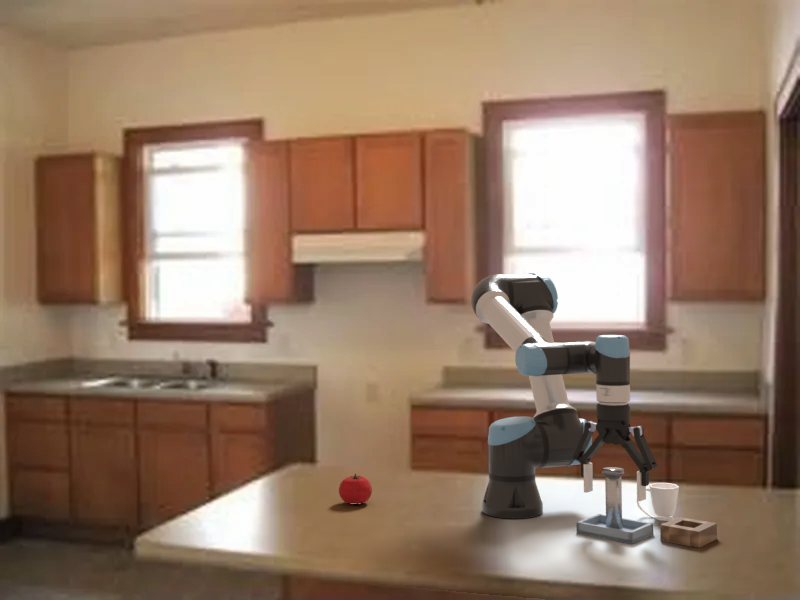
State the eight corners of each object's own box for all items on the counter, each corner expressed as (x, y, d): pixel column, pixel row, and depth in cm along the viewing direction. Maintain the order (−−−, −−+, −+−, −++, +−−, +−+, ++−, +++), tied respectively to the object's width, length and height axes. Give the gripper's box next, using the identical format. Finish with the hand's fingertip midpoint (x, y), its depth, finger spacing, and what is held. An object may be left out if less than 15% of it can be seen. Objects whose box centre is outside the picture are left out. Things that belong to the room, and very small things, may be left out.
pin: (608, 526, 214) (607, 466, 214) (628, 529, 211) (627, 468, 211) (600, 531, 210) (599, 470, 210) (620, 534, 207) (619, 472, 207)
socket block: (660, 540, 205) (660, 524, 205) (678, 532, 212) (678, 516, 211) (699, 547, 199) (699, 531, 199) (716, 538, 205) (716, 523, 205)
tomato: (378, 502, 245) (378, 472, 245) (359, 509, 238) (359, 478, 238) (351, 498, 250) (351, 469, 250) (332, 505, 242) (331, 475, 242)
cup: (677, 523, 219) (677, 489, 219) (634, 519, 223) (634, 486, 223) (681, 516, 225) (680, 483, 225) (639, 513, 229) (639, 480, 229)
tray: (576, 533, 212) (576, 522, 212) (599, 524, 219) (598, 513, 219) (631, 544, 202) (631, 532, 202) (653, 534, 210) (653, 523, 210)
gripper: (557, 400, 216) (558, 490, 216) (655, 409, 199) (657, 507, 200) (574, 397, 222) (575, 485, 222) (671, 405, 205) (673, 500, 205)
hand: (614, 495), depth 211 cm, fingers open, 13 cm apart
